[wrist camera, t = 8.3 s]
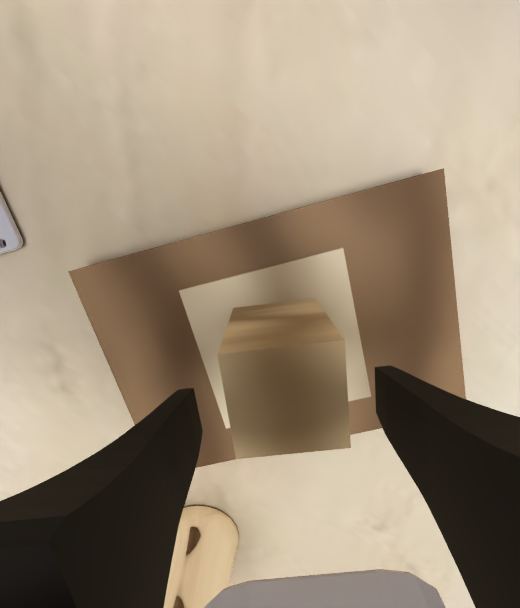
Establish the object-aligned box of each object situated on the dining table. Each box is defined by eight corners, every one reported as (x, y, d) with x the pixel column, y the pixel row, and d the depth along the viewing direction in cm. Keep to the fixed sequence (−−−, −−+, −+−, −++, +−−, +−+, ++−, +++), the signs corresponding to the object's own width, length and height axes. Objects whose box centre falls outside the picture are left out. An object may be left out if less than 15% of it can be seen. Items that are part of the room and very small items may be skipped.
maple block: (244, 380, 18) (235, 459, 12) (233, 307, 16) (217, 354, 11) (321, 372, 17) (350, 447, 12) (315, 298, 16) (344, 340, 10)
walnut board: (166, 453, 22) (156, 478, 19) (89, 266, 18) (65, 272, 16) (447, 391, 20) (469, 411, 18) (422, 174, 17) (446, 167, 14)
